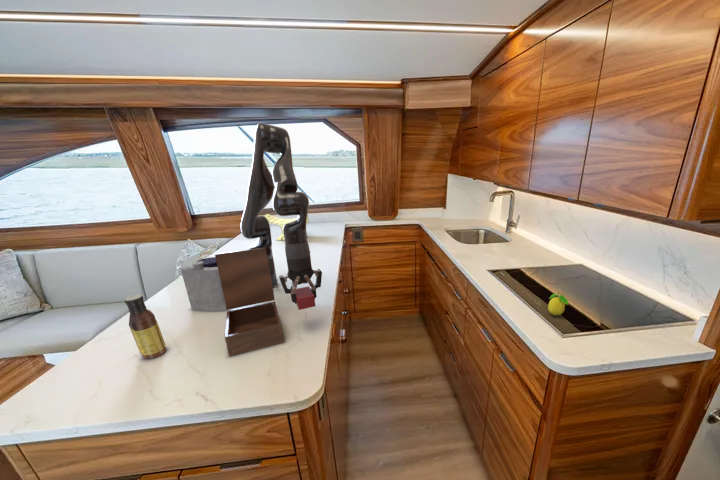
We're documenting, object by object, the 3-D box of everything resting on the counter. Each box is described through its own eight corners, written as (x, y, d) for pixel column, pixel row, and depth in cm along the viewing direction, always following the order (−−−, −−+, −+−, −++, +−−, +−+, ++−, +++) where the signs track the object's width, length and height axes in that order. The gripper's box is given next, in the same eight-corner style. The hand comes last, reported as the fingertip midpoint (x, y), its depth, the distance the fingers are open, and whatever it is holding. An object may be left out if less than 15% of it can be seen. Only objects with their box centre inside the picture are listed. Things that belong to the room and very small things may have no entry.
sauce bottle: (151, 348, 95) (131, 292, 88) (171, 347, 96) (153, 291, 89) (136, 361, 89) (113, 301, 82) (158, 359, 90) (137, 300, 83)
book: (315, 306, 101) (314, 295, 99) (298, 310, 98) (297, 299, 97) (310, 296, 108) (308, 286, 107) (294, 299, 106) (293, 289, 105)
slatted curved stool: (310, 234, 239) (307, 212, 233) (305, 239, 224) (302, 216, 218) (272, 235, 237) (268, 213, 231) (264, 240, 222) (260, 217, 216)
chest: (283, 342, 97) (280, 324, 95) (229, 356, 91) (224, 337, 88) (277, 317, 113) (275, 301, 111) (231, 327, 106) (226, 310, 104)
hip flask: (231, 307, 121) (221, 261, 115) (225, 312, 117) (213, 264, 111) (195, 306, 123) (183, 260, 116) (188, 310, 119) (174, 263, 112)
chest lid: (265, 247, 106) (265, 246, 111) (214, 254, 100) (216, 252, 104) (274, 300, 110) (274, 297, 115) (226, 309, 104) (227, 306, 108)
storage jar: (233, 289, 139) (226, 258, 134) (213, 297, 130) (205, 265, 125) (219, 285, 143) (211, 256, 138) (198, 293, 134) (190, 262, 129)
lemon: (565, 321, 107) (570, 296, 104) (547, 318, 109) (551, 294, 106) (562, 312, 113) (567, 289, 110) (545, 310, 115) (549, 286, 112)
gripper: (317, 248, 104) (322, 292, 109) (273, 254, 97) (281, 301, 103) (322, 254, 97) (327, 300, 103) (276, 261, 91) (284, 310, 97)
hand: (304, 300), depth 103 cm, fingers closed on book, 5 cm apart
